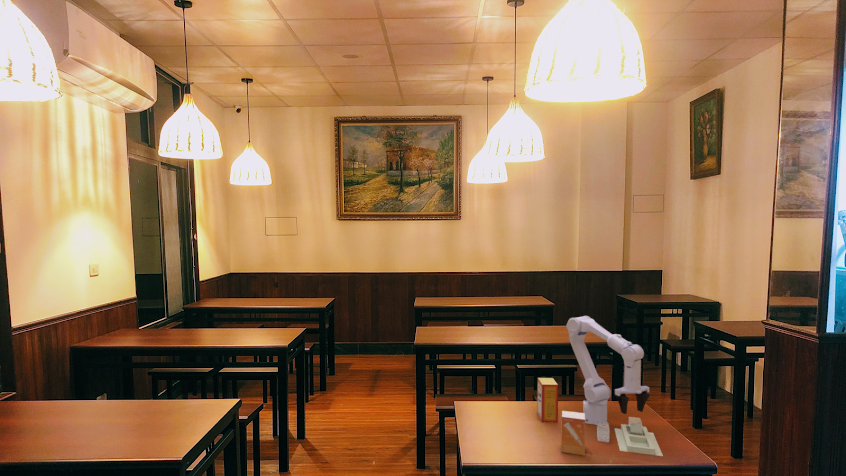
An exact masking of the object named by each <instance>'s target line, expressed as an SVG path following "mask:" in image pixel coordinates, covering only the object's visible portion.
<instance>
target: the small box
mask: <svg viewBox="0 0 846 476" xmlns="http://www.w3.org/2000/svg"><path fill="white" fill-rule="evenodd" d="M560 431H561V432H560V433H561V435H560V436H561V437H560V439H561V441H560V443H561V448H560V451H561V452H560V453H566V454H573V455H579V456H584V457H585V455H586V454H585V453H586V452H585V451H586V423H585V413H583V412H577V411H567V410H562V411H561V430H560Z"/></svg>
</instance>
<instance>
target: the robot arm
mask: <svg viewBox="0 0 846 476" xmlns="http://www.w3.org/2000/svg"><path fill="white" fill-rule="evenodd" d="M565 326H566V327H565V328H566V329H567V332H568V340H569V342H570V344H571V347H572V350H573V353H574V356H575V357H576V360H577V362H578V365H579V368H580V370H581V372H582V375H583V377H584V379H585V380H584V382H583V386H582V387H583V390H584V397H585V399H586V400H583V401H582V404H583V405H582V409H583V411H582V413H585V424H590V425H595V426H597V421H600V422H608V402H609V401H608V400H609V399H610V398H611V394H612V392H611V388H610V387H609V386H608V385H607V383H606V382H605V380H604V379H603V378H601V377H600V376H599V374H598V372H597V369H596V368H595V365H594V362H593V359H592V358H591V354H590V352H589V350H588V348H587V345H586V343H585V338H586V335H588V333H592V334H593V335H596V336H597V337H598V338H601V339H602V340H604V341H606V342H607V346H608V347H609V348H611V349H612V350H614V351H615V352H617V354H620V355H621V357H622V359H623V364H624V372H623V373H624V377H623V380H624V382H623V384H624V386H622V387H619V388H615V389H614V396H615V398H616V400H617V403H618V404H619V408H620V409H619V410H620V413H622V414H624V415H626V414H627V412H628V405H629V400H630V398H629V397H628V396H627V395H631V394H632V395H633V394H635V397H636V410H637V411H639V412H641V413H643V412H644V409H645V405H646V403H647V401H648V399H649V398H650V387H649V386H647V385H641V378H642V377H641V376H642V374H641V373H642V368H641V367H642V360H641V359H643V358H644V357H645V356H644V355H645V352H644V349H643V348H642V346H641V345H639V344H633V342H631V341H628V340H626V339H625V338H623V337H622V335H621V334H617V333H614V334H612V333H611V332H610V331H608V330H607V329H605V328H604V327H603V326H602V325H600V324H599V323H597V322H596V321H595V319H593V318H591V317H590V316H588V315H583V316H579V317H570V318H569V319H568V321H567V323H566V325H565Z"/></svg>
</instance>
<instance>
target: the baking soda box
mask: <svg viewBox="0 0 846 476" xmlns="http://www.w3.org/2000/svg"><path fill="white" fill-rule="evenodd" d="M536 389H537V392H536V394H537V400H536V401H537V402H536V403H537V405H536V406H537V409H536V410H537V411H536V413H537V416H538V418H539V420H540V421H541V423H550V422H553V424H554V423H555V424H556V423H558V422H559V384H558V383H557V382H556V380H555V379H554V378H553V377H537V388H536Z"/></svg>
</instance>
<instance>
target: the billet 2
mask: <svg viewBox="0 0 846 476" xmlns="http://www.w3.org/2000/svg"><path fill="white" fill-rule="evenodd" d="M642 422H643V421H642V419H641V417H635V416H628V425H629V434H633V435H642V426H643V423H642Z"/></svg>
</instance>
